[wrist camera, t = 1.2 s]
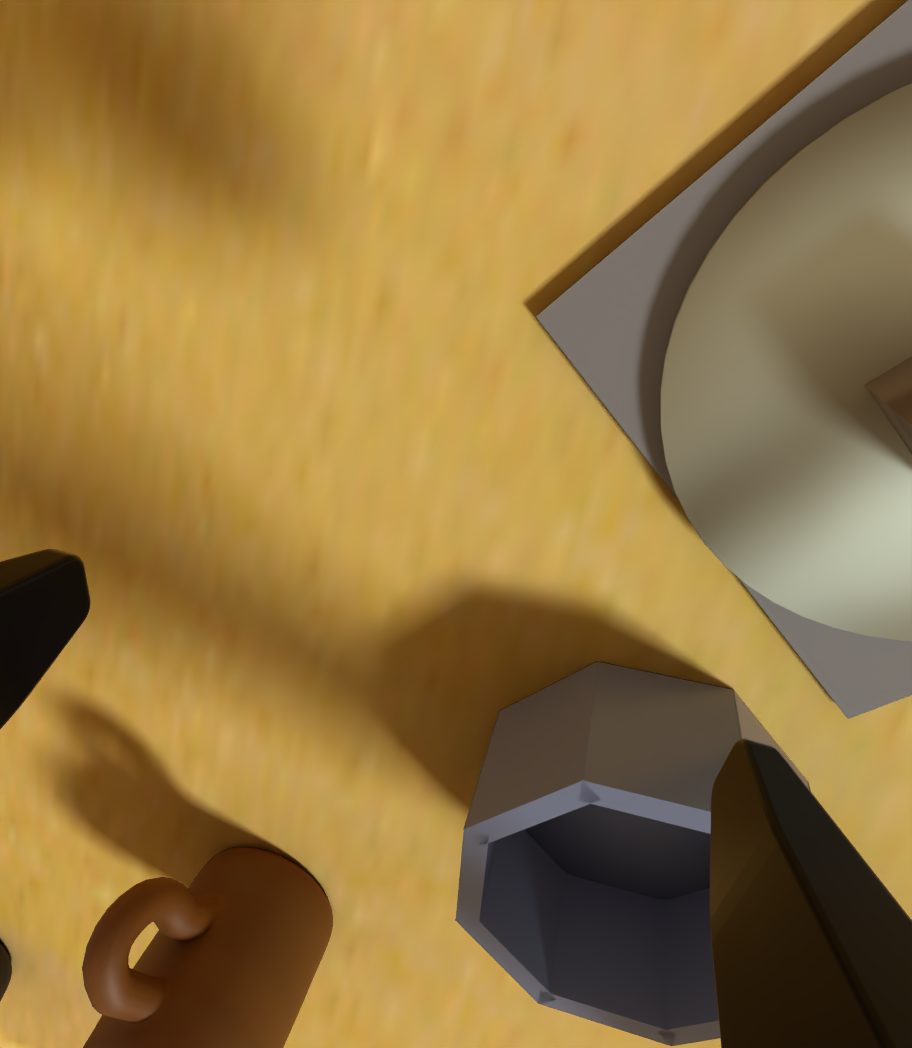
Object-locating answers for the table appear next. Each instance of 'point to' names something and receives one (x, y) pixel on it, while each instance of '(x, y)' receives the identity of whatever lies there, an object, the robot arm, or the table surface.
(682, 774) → the bowl
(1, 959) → the cola bottle
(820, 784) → the table surface
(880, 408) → the lid
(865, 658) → the mat
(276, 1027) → the mug
